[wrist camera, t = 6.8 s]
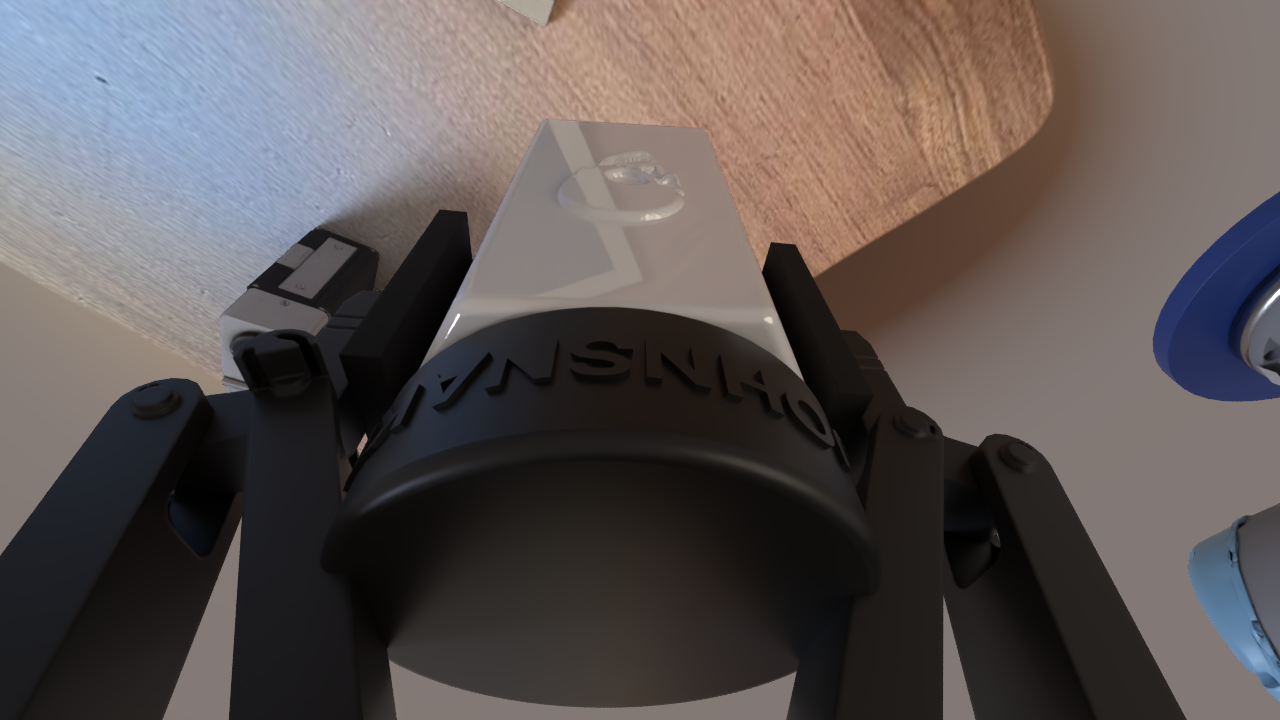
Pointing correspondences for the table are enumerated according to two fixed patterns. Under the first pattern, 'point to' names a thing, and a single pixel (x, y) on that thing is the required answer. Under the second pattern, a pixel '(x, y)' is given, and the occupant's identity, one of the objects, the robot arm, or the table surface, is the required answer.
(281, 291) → the camera
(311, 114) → the table surface
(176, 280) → the table surface
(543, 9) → the tile
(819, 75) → the table surface
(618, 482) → the jar
